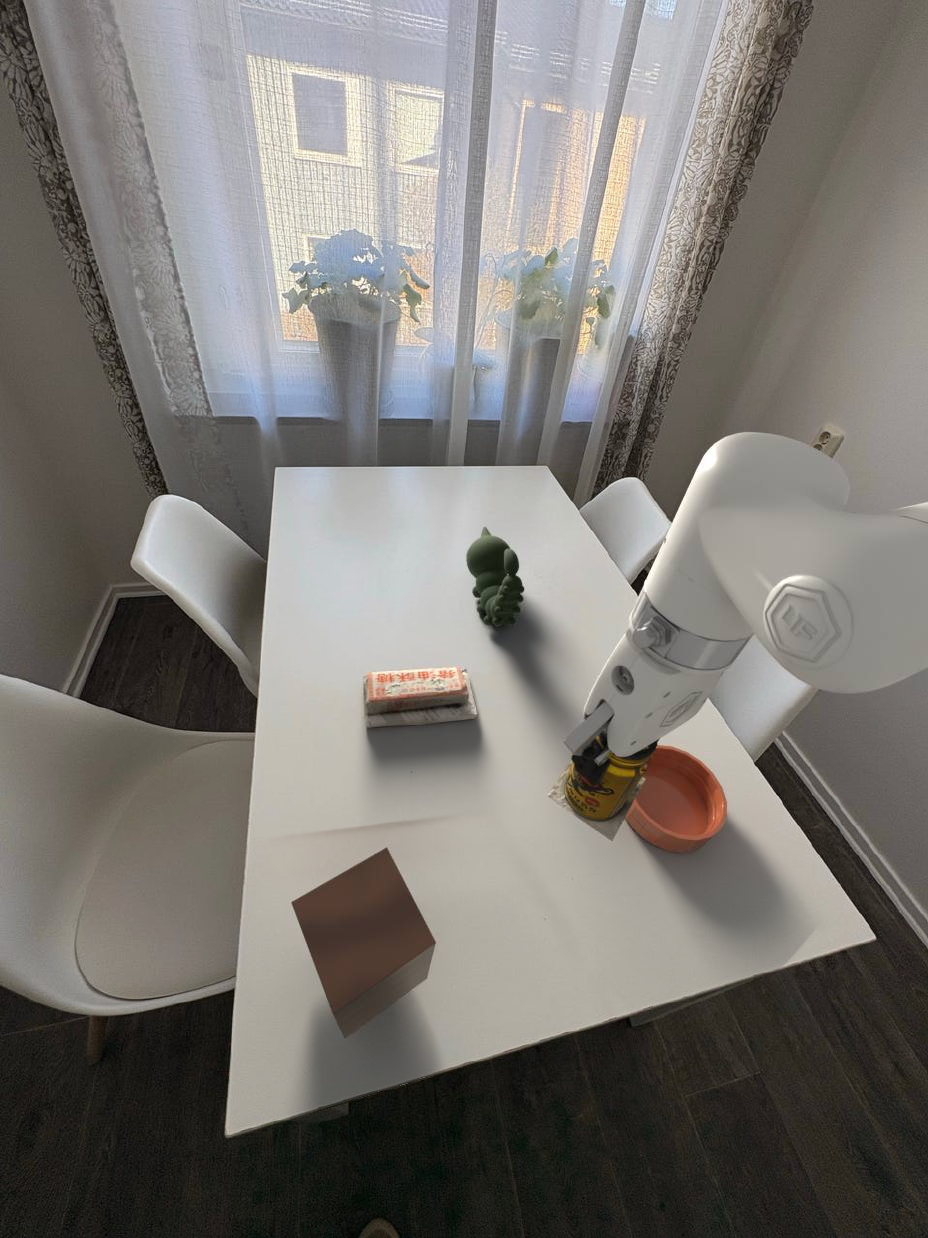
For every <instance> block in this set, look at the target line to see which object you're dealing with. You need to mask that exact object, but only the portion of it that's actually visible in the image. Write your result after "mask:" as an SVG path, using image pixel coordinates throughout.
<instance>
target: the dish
mask: <svg viewBox="0 0 928 1238" xmlns="http://www.w3.org/2000/svg"><path fill="white" fill-rule="evenodd" d="M643 777H644V778H645V781H644V783H643V785H642V787H641V789H640V790H639V792H638V794H637V796H636V798H635V800H634V802H633V804H632V805H631V807H630V809H629V811H628V813H627V815H626V816H625V818H624V820H625V821H626V822H627V823H628V824H629V825H630V827H631V828H632V829H633V830H634V831H635V832H636V833H637V835H638V836H639V837H642V838H643V839H644V840H646V841H647V842H648V843H649V844H651V845H653V846H655V847H657V848H661V849H663V850H665V851H667V852H676V853H688V852H691V851H696V850H698V849H700V848H701V847H702V846H703V845H705V844H706V843H707V842H708V841H710V840H711V839H713V837H714V836H715V835H716V834H717V833H718V832H720V831H721V830H722V828H723V826H724V824H725V822H726V819H727V817H728V801H727V798H726V794H725V792H724V789H723V788H724V787H723V786H722V785H721V783H720V782H719V780H718V778H717V777H716V775H715V774H714V772H713V771H712V770H711V769H710V768H709V767H707V765H706V764H705V763H704V762H703V761H701V760H700V759H699V758H697V757H696V756H694V755H693V754H691V753H689V752H687V751H686V750H683V749H680V748H677V747H675V746H672V745H664V744H663V745H661V744H657V746H656V749H655V751H654V752H653V754H652V759H651V763H650V766H649V767H648V769H647V771H646V773H645V774H644V775H643Z"/></svg>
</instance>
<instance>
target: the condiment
mask: <svg viewBox="0 0 928 1238" xmlns="http://www.w3.org/2000/svg"><path fill="white" fill-rule="evenodd" d="M596 739H597V741H598V742H599V743H600V744H601V745H602V746H603V747H605V746H606V744H607V743H608V740H607V738H606V737H605V736H604V735H603V734H602V732H601V733H600V734H599V735H598V736H597V737H596ZM658 742H659V741H658V740H656V741H655V742H653V743H651V744H650V745H648V746H646V747H645V748H643V749H641V750H639V751H638V752H636V753H634V754H632V755H630V756H626V757H618V756H616V755H615V754H614V753H613V754H612V755H611V756H610V757H609V758H610V760H611V764H610V766H609V767H608V769H607V771H606V772H605V774H604V776H603V777H602V779H601V781H600V783H599V784H597V785H596V786H592V785H591V784H590V783H589V781H588V780H587V779H586V778H585V777H583V776H581V775H580V774H579V772H578V771H577V770H576V768H575V766H574V763H573V761H572V759H571V760H570V762H569V763H568V764H567V766H566V767H565V769H564V770H563V771H562V773H561V775H560V776H559V778H558V779H557V781H556V782H555V784H554V785H553V786H552V788H551V790H550V791H549V792H548V793H547V797H548V798H550V799H551V800H552V801H554V802H555V803H556V804H558V805H559V806H561V807H562V808H563V809H564V810H566V811H567V812H569V813H570V814H571V815H573V816H574V817H576V818H577V819H579V820H580V821H582V822H583V823H584V824H586V825H587V826H589V827H590V828H591V829H594V830H595V831H596V832H598V833H600V834H601V835H602V836H603V837H605V838H606V839H608V840H609V841H611V842H613V841H614V839H615V837H616V835H617V834H618V831H619V830H620V828H621V826H622V824H623V823H624V820H625V816H626V815H627V813H628V811H629V809H630V807H631V805H632V804H633V802H634V800H635V798H636V796H637V794H638V792H639V790H640V789H641V787H642V785H643V783H644V781H645V778H644V777H643V775H644V774H645V773H646V771H647V769H648V767H649V766H650V763H651V759H652V754H653V752H654V751H655V749H656V746H657V745H658Z"/></svg>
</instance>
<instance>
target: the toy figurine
mask: <svg viewBox="0 0 928 1238" xmlns="http://www.w3.org/2000/svg"><path fill="white" fill-rule="evenodd" d="M465 554H466V556H465V559H466V560H465V561H466V567H467V569H468V571H469V573H470V575H471V576H472V577H473V578H474V579H475V586H474V587H473V588H472V589H471V590H472V591H471V594H472V595H473V598H476V599H480V600H479V601H480V602H479V604H478V605H477V607H476V611H477V613H478V614H479V615H485V614H486V615H485V616H484V618H483V624H484V625H485V626H487V627H491V626H495V627H500V626H501V625H502V624H503V625H505V626H512V627H513V626H515V625H516V624H517V618H516V617H515V615H519V614H520V613H521V612H522V608H521V607H520V606H519V604H520V603H523V602H524V596H523V595H522V594H523V593H524V592H525V587H524V585H523V581H522V578H521V577H520V576H519V575H517V574H518V572H519V570H520V560H519V557H518V555H517V553H516V552H515V551H514V550H513V549H512V548H511V546H509V543H507V542H506V541H505V540H504V539H503V538H501V537H499V536H495V535H492V533H491V532H490V531H489V529H488V528H487V527H486V526H483V527H482V530H481V533H480V537H478V538H476V539H475V540H474V541H473V542H472V543H471V544H470V546H469V548H468V549H467V550H466V553H465Z"/></svg>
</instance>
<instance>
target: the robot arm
mask: <svg viewBox="0 0 928 1238" xmlns="http://www.w3.org/2000/svg"><path fill="white" fill-rule="evenodd" d="M689 483H690V484H689V485H688V487H687V489H686V492H685V494H684V496H683V499H682V500H681V503H680V505H679V507H678V509H677V511H676V513H675V516H674V518H673V520H672V522H671V524H670V527H669V529H668V531H667V534H666V535H665V537H664V540H663V542H662V544H661V546H660V548H659V551H658V553H657V554H656V557H655V559H654V561H653V564H652V566H651V568H650V571H649V573H648V575H647V577H646V579H645V581H644V583H643V586H642V588H641V590H640V592H639V595H638V597H637V599H636V601H635V603H634V605H633V607H632V609H631V612H630V614H629V618H628V626H629V628H628V629H627V630H626V631H625V632H624V635H622V637H621V639H620V640H619V642H618V643H617V644H616V646H615V648H614V649H613V651H612V653H611V654H610V656H609V658H608V659H607V661H606V662H605V664H604V666H603V667H602V669H601V671H600V673H599V674H598V676H597V678H596V680H595V683H594V684H593V686H592V687H591V690H590V692H589V694H588V697H587V699H586V702H585V704H584V708H583V713H582V716H583V722H581V723H580V724H579V725H578V726H577V727H576V728H575V729H574V730H573V731H572V732H571V733H569V734H568V736H567V737H566V738H564V741H563V744H564V745H565V746H566V747H567V749H568V750H569V751H570V752H571V754H572V755H571V760H572V761H573V763H574V766H575V768H576V770H577V771H578V772H579V774H580V775H581V776H583V777H585V778H586V779H587V780H588V781H589V783H590V784H591V785H592V786H596V785H597V784H599V783H600V781H601V779H602V777H603V776H604V774H605V772H606V771H607V769H608V767H609V766H610V764H611V760H610V758H609V757H610V756H611V755H612V754H613V753H614V754H615V755H616V756H618V757H626V756H630V755H632V754H634V753H636V752H638V751H639V750H641V749H643V748H645V747H646V746H648V745H650V744H651V743H653V742H655V741H656V740H658V742H659V741H660V739H661V738H663V737H665V736H666V735H668V734H670V733H671V732H673V731H675V730H676V729H677V728H679V727H681V726H682V725H685V724H686V723H687V722H688V721H690V720H691V719H692V718H694V717H695V716H696V715H697V714H698V713H699V712H700V711H701V709H702V708H703V706H704V705H705V703H706V701H707V700H708V698H709V697H710V695H711V694H712V692H713V691H714V689H715V687H716V685H718V683H719V681H720V679H721V678H722V676H723V675H724V673H725V671H727V670H729V668H730V667H732V665H733V664H734V662H735V661H736V660H737V658H738V657H739V656H740V655H741V653H742V652H743V650H744V649H745V647H746V646H747V645H748V644H749V642H750V641H751V639H752V638H753V637H754V635H755V637H756V638H757V639H758V641H759V642H760V643H761V645H762V646H763V647H764V649H765V650H766V652H767V653H768V654H769V655H770V656H771V657H772V658H773V659H774V660H775V661H776V662H777V663H778V664H779V665H780V667H782V668H783V669H784V670H786V671H787V672H788V673H789V674H790V675H792V676H793V677H794V678H796V679H797V680H799V681H801V682H803V683H805V684H807V685H808V686H811V687H813V688H815V689H819V690H820V691H821V690H822V691H825V692H828V693H836V694H845V695H847V694H850V695H851V694H863V693H868V692H873V691H877V690H880V689H883V688H886V687H889V686H892V685H894V684H896V683H899V682H901V681H903V680H905V679H907V678H909V677H911V676H913V675H915V674H917V673H920V672H922V671H924V670H926V669H928V501H925V502H921V503H917V504H913V505H909V506H904V507H900V508H896V509H892V510H887V511H885V512H881V513H877V514H871V513H855V512H847V511H844V509H845V507H846V505H847V503H848V501H849V496H850V490H851V487H850V479H849V478H848V476H847V473H846V471H844V469H843V467H842V466H841V464H839V463H838V462H837V461H836V460H835V459H834V458H832V457H830V456H829V455H827V454H826V453H824V452H823V451H821V450H820V449H817V448H815V447H813V446H812V445H809V444H807V443H804V442H803V441H799V440H796V439H793V438H790V437H787V436H785V435H780V434H775V433H768V432H767V433H766V432H755V431H743V432H737V433H733V434H730V435H727V436H725V437H723V438H721V439H720V440H718V441H716V442H715V443H713V444H712V446H710V447H709V449H707V451H706V452H705V453H704V455H703V456H702V458H701V460H700V462H699V464H698V466H697V468H696V470H695V471H694V475H693V477H692V479H691V481H690V482H689ZM601 732H602V734H603V735H604V736H605V737H606V738H607V740H608V743H607V744H606V746H605V747H603V746H602V745H601V744H600V743H599V742H598V741H597V739H596V737H597V736H598V735H599V734H600V733H601Z"/></svg>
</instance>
